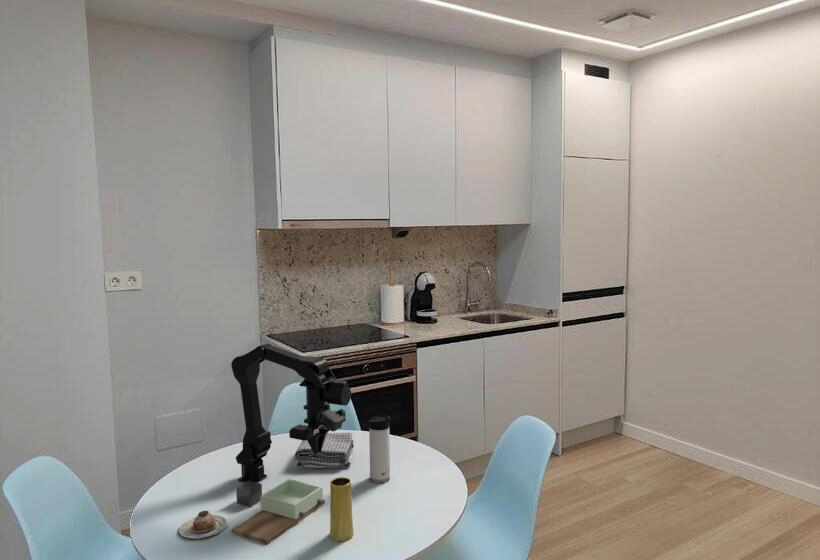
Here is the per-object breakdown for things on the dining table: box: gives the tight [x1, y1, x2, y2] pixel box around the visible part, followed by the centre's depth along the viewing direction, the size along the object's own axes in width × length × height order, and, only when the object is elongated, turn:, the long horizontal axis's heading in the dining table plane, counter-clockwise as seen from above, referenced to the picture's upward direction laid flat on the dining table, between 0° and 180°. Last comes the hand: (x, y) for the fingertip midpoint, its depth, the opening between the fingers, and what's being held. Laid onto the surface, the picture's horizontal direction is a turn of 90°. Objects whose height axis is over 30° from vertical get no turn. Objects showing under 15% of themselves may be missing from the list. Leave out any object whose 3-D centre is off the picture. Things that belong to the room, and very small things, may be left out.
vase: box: [329, 476, 355, 542], centre depth 147 cm, size 6×6×14 cm
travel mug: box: [368, 414, 391, 484], centre depth 180 cm, size 6×7×20 cm
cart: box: [260, 478, 324, 519], centre depth 161 cm, size 14×12×4 cm
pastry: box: [178, 510, 228, 540], centre depth 152 cm, size 12×12×5 cm
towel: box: [294, 432, 355, 469], centre depth 195 cm, size 15×18×8 cm
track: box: [231, 499, 326, 545], centre depth 157 cm, size 12×24×1 cm, turn 152°
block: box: [235, 481, 263, 508], centre depth 166 cm, size 5×5×5 cm
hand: (317, 452), depth 171 cm, fingers closed
